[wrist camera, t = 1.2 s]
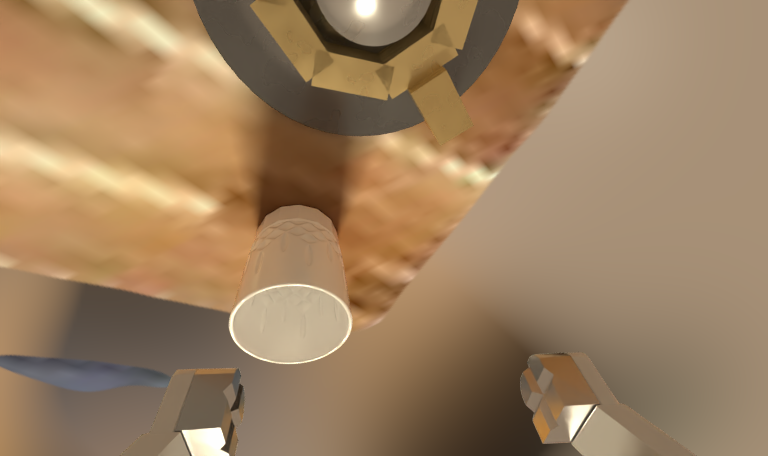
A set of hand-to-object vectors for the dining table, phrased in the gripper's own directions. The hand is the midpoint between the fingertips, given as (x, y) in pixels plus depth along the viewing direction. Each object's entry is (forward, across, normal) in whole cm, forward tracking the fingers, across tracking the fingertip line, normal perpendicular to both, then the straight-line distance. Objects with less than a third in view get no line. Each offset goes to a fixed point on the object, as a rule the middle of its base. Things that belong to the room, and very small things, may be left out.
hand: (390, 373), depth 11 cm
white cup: (+21, +5, +10) cm, 24 cm away
